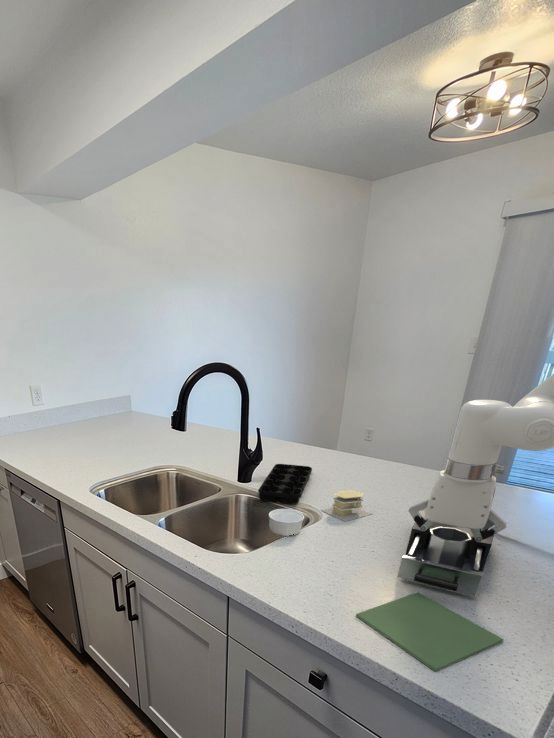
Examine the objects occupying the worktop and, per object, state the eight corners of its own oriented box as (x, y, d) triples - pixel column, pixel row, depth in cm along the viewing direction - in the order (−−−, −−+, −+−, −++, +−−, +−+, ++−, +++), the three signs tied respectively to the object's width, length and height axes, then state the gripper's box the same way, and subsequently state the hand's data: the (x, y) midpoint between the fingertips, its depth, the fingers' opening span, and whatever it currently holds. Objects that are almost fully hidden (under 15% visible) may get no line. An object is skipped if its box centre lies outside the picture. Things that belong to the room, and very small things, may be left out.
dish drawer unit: (482, 571, 92) (492, 544, 89) (405, 554, 100) (411, 528, 97) (487, 542, 103) (496, 517, 100) (417, 529, 111) (423, 505, 108)
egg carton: (310, 474, 153) (311, 463, 152) (319, 506, 127) (320, 494, 126) (258, 473, 157) (259, 463, 156) (257, 504, 131) (258, 492, 130)
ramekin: (292, 521, 120) (294, 506, 118) (308, 535, 112) (310, 519, 110) (262, 525, 118) (263, 510, 116) (276, 539, 111) (277, 524, 109)
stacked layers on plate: (345, 521, 118) (348, 502, 115) (321, 510, 125) (323, 492, 122) (372, 513, 121) (375, 495, 118) (347, 503, 128) (350, 486, 126)
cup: (468, 569, 90) (478, 537, 86) (445, 577, 88) (454, 544, 84) (437, 555, 95) (446, 524, 92) (414, 562, 93) (422, 531, 90)
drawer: (473, 608, 80) (480, 586, 78) (392, 587, 87) (397, 566, 85) (480, 564, 93) (487, 545, 91) (410, 549, 101) (414, 530, 98)
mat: (502, 642, 73) (503, 639, 73) (435, 671, 68) (436, 669, 68) (417, 594, 86) (418, 591, 86) (355, 616, 81) (356, 613, 81)
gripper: (528, 470, 80) (498, 554, 88) (419, 457, 89) (401, 534, 97) (528, 482, 74) (496, 570, 82) (413, 467, 84) (394, 548, 92)
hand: (445, 550), depth 90 cm, fingers closed on cup, 7 cm apart
